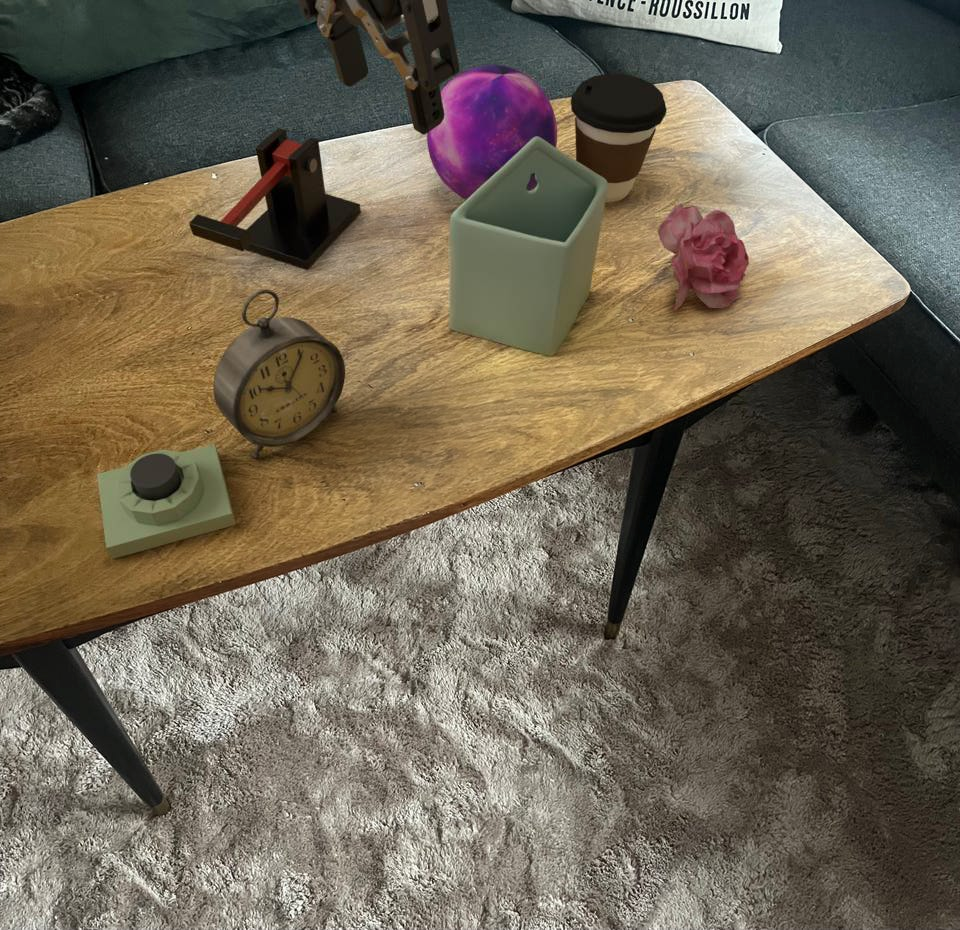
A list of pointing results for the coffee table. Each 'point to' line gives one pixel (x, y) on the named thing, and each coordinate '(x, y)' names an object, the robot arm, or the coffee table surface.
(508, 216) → the planter
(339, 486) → the coffee table surface
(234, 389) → the alarm clock
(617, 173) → the coffee cup
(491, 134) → the decorative orb
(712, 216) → the flower
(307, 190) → the lever stand
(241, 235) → the red lever
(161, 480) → the call button
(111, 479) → the call button base
